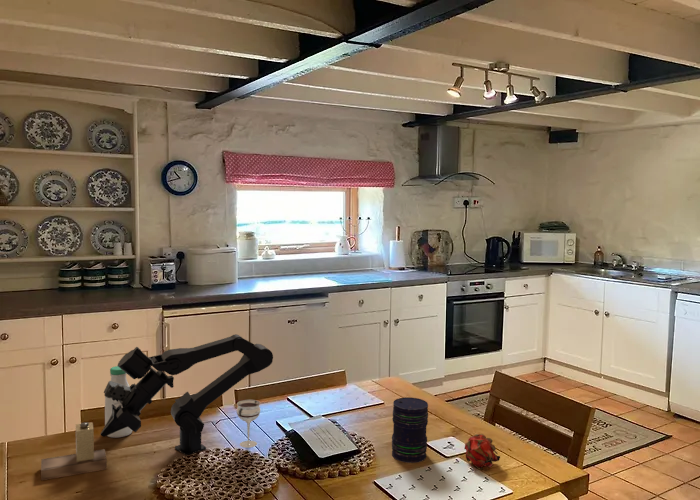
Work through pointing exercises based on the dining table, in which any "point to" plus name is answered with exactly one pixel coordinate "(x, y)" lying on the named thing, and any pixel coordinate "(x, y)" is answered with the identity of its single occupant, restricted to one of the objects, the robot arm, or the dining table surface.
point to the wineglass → (248, 417)
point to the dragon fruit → (481, 451)
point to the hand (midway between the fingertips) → (101, 435)
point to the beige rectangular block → (84, 441)
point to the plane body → (71, 465)
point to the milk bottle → (120, 378)
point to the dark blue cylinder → (409, 429)
